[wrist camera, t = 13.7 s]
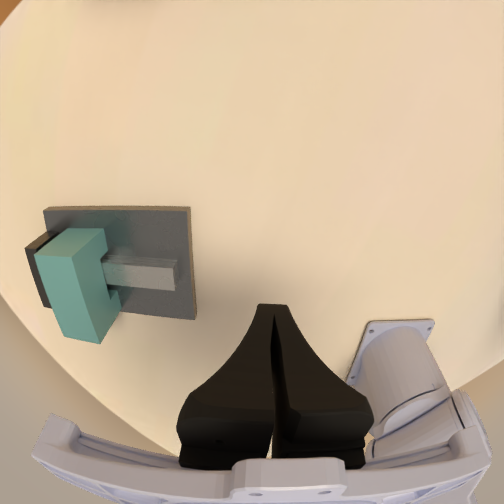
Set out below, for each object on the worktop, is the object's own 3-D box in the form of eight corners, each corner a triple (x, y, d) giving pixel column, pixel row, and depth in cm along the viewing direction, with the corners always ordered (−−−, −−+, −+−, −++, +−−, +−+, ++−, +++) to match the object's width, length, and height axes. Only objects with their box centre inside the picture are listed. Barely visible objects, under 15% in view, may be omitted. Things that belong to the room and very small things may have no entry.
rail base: (190, 206, 21) (173, 230, 17) (196, 313, 26) (186, 347, 22) (49, 206, 22) (18, 225, 18) (71, 297, 26) (50, 323, 22)
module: (103, 228, 21) (71, 257, 17) (121, 308, 25) (100, 344, 21) (67, 228, 22) (33, 254, 17) (87, 303, 25) (64, 336, 21)
